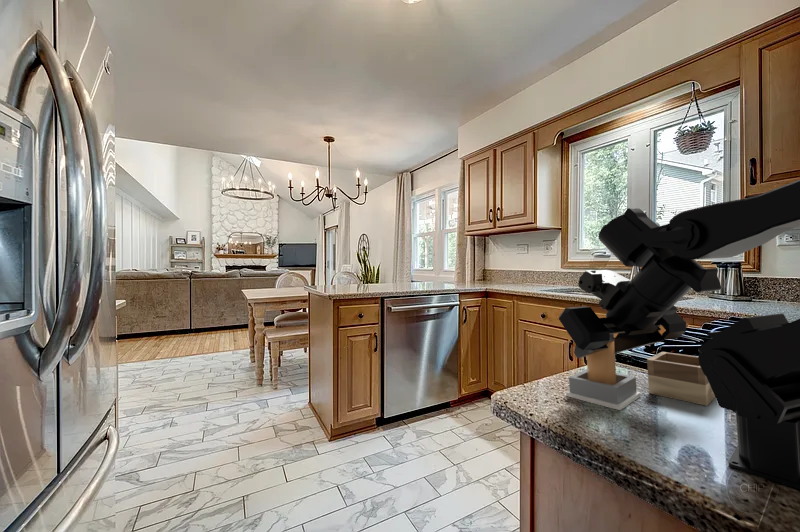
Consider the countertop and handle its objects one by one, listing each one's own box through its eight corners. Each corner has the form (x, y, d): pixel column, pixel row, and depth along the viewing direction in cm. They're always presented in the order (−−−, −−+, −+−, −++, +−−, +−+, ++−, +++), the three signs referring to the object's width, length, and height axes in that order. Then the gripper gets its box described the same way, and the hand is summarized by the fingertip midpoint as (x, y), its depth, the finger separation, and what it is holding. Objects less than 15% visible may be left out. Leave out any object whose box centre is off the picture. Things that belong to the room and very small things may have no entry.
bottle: (620, 397, 53) (616, 332, 53) (591, 395, 54) (587, 332, 55) (613, 389, 57) (610, 328, 57) (586, 387, 58) (583, 328, 59)
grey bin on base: (620, 410, 50) (618, 389, 50) (566, 395, 56) (565, 377, 56) (640, 396, 55) (639, 376, 55) (589, 384, 61) (588, 367, 61)
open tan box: (706, 405, 50) (704, 368, 50) (649, 393, 56) (647, 359, 56) (718, 393, 54) (716, 358, 54) (663, 382, 60) (662, 351, 60)
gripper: (662, 249, 55) (608, 311, 65) (563, 253, 50) (522, 319, 60) (722, 302, 47) (650, 363, 57) (613, 313, 42) (556, 377, 53)
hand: (593, 353), depth 57 cm, fingers open, 7 cm apart
